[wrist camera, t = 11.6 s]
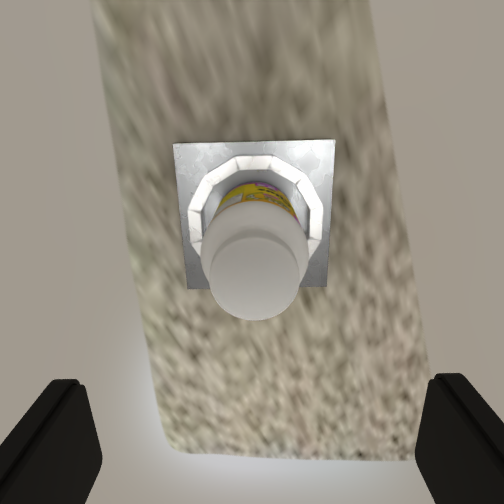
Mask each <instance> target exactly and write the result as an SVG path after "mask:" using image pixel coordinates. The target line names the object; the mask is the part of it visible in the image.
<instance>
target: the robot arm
mask: <svg viewBox="0 0 504 504" xmlns="http://www.w3.org/2000/svg"><path fill="white" fill-rule="evenodd" d="M415 459H416V463H417V465H418V468H419V470H420V472H421V474H422V476H423V478H424V480H425V483H426V485H427V487H428V489H429V491H430V493H431V495H432V497H433V499H434V501H435V503H436V504H504V423H503V422H502V420H501V419H500V418H499V417H498V416H497V415H496V413H495V412H494V411H493V410H492V408H491V407H490V406H489V405H488V404H487V403H486V401H485V400H484V399H483V398H482V397H481V395H480V394H479V393H478V392H477V391H476V389H475V388H474V387H473V386H472V385H471V383H470V382H469V381H468V380H467V379H466V378H465V376H463V375H462V374H460V373H439V374H436V375H435V377H434V379H431V380H430V381H429V383H428V388H427V393H426V398H425V403H424V407H423V412H422V417H421V422H420V427H419V432H418V437H417V442H416V447H415ZM101 465H102V452H101V448H100V444H99V440H98V436H97V432H96V428H95V424H94V420H93V416H92V412H91V408H90V404H89V400H88V396H87V392H86V388H85V386H84V385H80V383H79V381H78V380H77V379H56V380H53V381H51V382H50V384H49V385H48V386H47V387H46V388H45V390H44V391H43V392H42V393H41V395H40V396H39V397H38V399H37V400H36V401H35V402H34V403H33V405H32V406H31V407H30V409H29V410H28V411H27V412H26V414H25V415H24V416H23V417H22V419H21V420H20V421H19V422H18V424H17V425H16V426H15V428H14V429H13V430H12V431H11V432H10V434H9V435H8V436H7V437H6V439H5V440H4V441H3V443H2V444H1V445H0V504H85V502H86V500H87V498H88V496H89V493H90V491H91V489H92V487H93V484H94V482H95V480H96V477H97V475H98V473H99V471H100V468H101Z"/></svg>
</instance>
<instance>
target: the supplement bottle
mask: <svg viewBox="0 0 504 504" xmlns="http://www.w3.org/2000/svg"><path fill="white" fill-rule="evenodd" d="M200 256H201V264H202V269H203V271H204V274H205V276H206V278H207V280H208V282H209V285H210V290H211V292H212V295H213V297H214V299H215V300H216V301H217V303H218V304H219V306H220V307H221V308H223V309H224V310H225V311H226V312H228V313H229V314H231V315H233V316H235V317H237V318H240V319H244V320H253V321H256V320H264V319H268V318H271V317H274V316H276V315H278V314H280V313H281V312H283V311H284V310H285V309H286V308H287V307H288V306H289V305H290V304H291V303H292V301H293V300H294V298H295V297H296V294H297V292H298V289H299V285H300V282H301V281H302V279H303V277H304V275H305V273H306V270H307V267H308V261H309V248H308V242H307V239H306V236H305V233H304V231H303V229H302V227H301V225H300V222H299V220H298V218H297V216H296V213H295V211H294V209H293V207H292V205H291V203H290V201H289V200H288V198H287V197H286V196H285V194H284V193H283V192H282V191H280V190H279V189H277V188H276V187H274V186H272V185H270V184H267V183H263V182H248V183H244V184H241V185H239V186H237V187H235V188H234V189H232V190H231V191H230V192H229V193H227V194H226V195H225V197H224V198H223V199H222V201H221V202H220V204H219V206H218V208H217V210H216V212H215V214H214V216H213V218H212V220H211V222H210V224H209V226H208V228H207V230H206V232H205V234H204V237H203V240H202V244H201V254H200Z"/></svg>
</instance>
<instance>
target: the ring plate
mask: <svg viewBox="0 0 504 504" xmlns="http://www.w3.org/2000/svg"><path fill="white" fill-rule="evenodd" d="M173 151H174V161H175V170H176V180H177V190H178V200H179V210H180V219H181V229H182V239H183V249H184V259H185V268H186V278H187V288H188V289H210V285H209V282H208V280H207V278H206V276H205V274H204V271H203V269H202V264H201V256H200V254H201V244H202V240H203V237H204V234H205V232H206V230H207V228H208V226H209V224H210V222H211V220H212V218H213V216H214V214H215V212H216V210H217V208H218V206H219V204H220V202H221V201H222V199H223V198H224V197H225V195H226V194H227V193H229V192H230V191H231V190H232V189H234V188H235V187H237V186H239V185H241V184H244V183H248V182H263V183H267V184H270V185H272V186H274V187H276V188H277V189H279V190H280V191H282V192H283V193H284V194H285V196H286V197H287V198H288V200H289V201H290V203H291V205H292V207H293V209H294V211H295V213H296V216H297V218H298V220H299V222H300V225H301V227H302V229H303V231H304V233H305V236H306V239H307V242H308V248H309V261H308V267H307V270H306V273H305V275H304V277H303V279H302V281H301V282H300V285H299V287H325V286H327V271H328V254H329V237H330V220H331V203H332V186H333V169H334V152H335V139H319V140H280V141H241V142H202V143H174V144H173Z"/></svg>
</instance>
